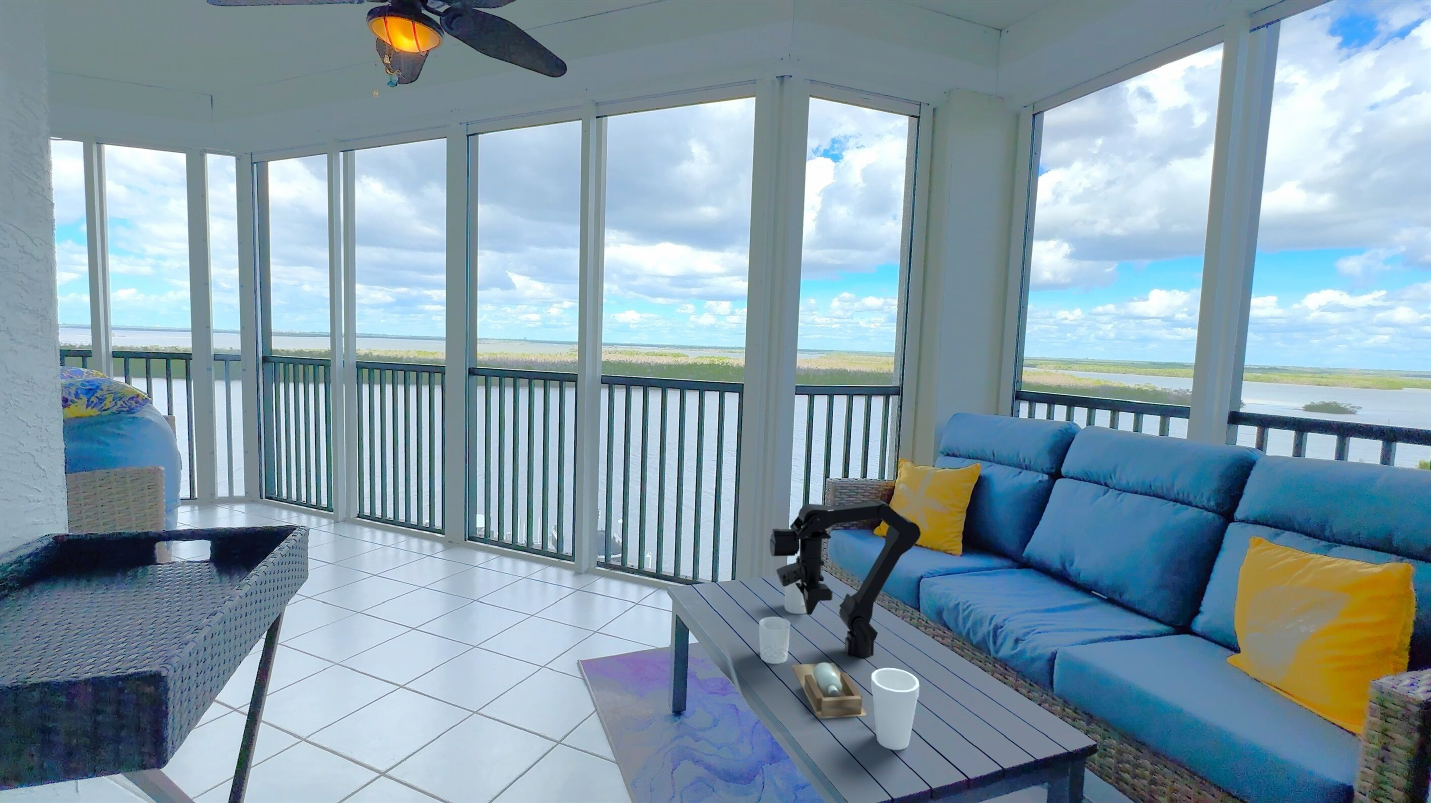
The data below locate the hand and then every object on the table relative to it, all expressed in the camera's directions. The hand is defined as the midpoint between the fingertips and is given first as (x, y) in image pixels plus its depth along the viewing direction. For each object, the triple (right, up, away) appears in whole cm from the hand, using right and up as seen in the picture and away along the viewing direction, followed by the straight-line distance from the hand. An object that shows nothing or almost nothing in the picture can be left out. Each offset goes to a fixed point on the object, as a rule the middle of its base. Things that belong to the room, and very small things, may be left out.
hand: (809, 614), depth 162 cm
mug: (+2, -10, +31) cm, 32 cm away
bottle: (+2, -10, -13) cm, 16 cm away
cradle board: (+2, -13, -15) cm, 20 cm away
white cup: (-9, -12, 0) cm, 15 cm away
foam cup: (+12, -15, -32) cm, 38 cm away
